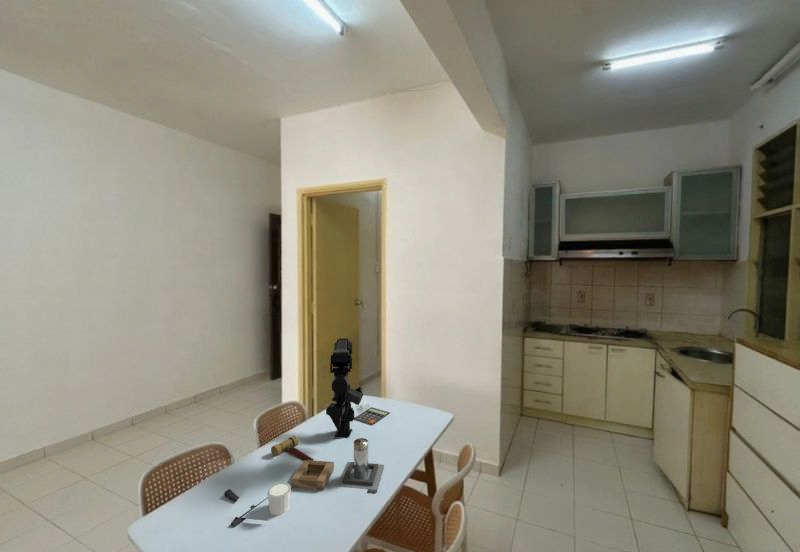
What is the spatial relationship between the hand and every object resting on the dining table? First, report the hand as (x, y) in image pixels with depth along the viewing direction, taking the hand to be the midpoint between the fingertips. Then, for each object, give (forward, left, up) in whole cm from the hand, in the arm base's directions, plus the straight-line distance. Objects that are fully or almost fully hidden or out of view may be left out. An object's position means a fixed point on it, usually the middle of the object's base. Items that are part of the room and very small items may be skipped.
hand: (341, 422), depth 136 cm
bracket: (+30, -24, -14) cm, 41 cm away
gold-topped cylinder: (+13, +11, -12) cm, 21 cm away
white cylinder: (+32, -10, -13) cm, 36 cm away
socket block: (+17, -5, -13) cm, 22 cm away
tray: (+13, +11, -13) cm, 21 cm away
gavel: (+4, -16, -14) cm, 22 cm away
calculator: (-34, +5, -14) cm, 37 cm away
